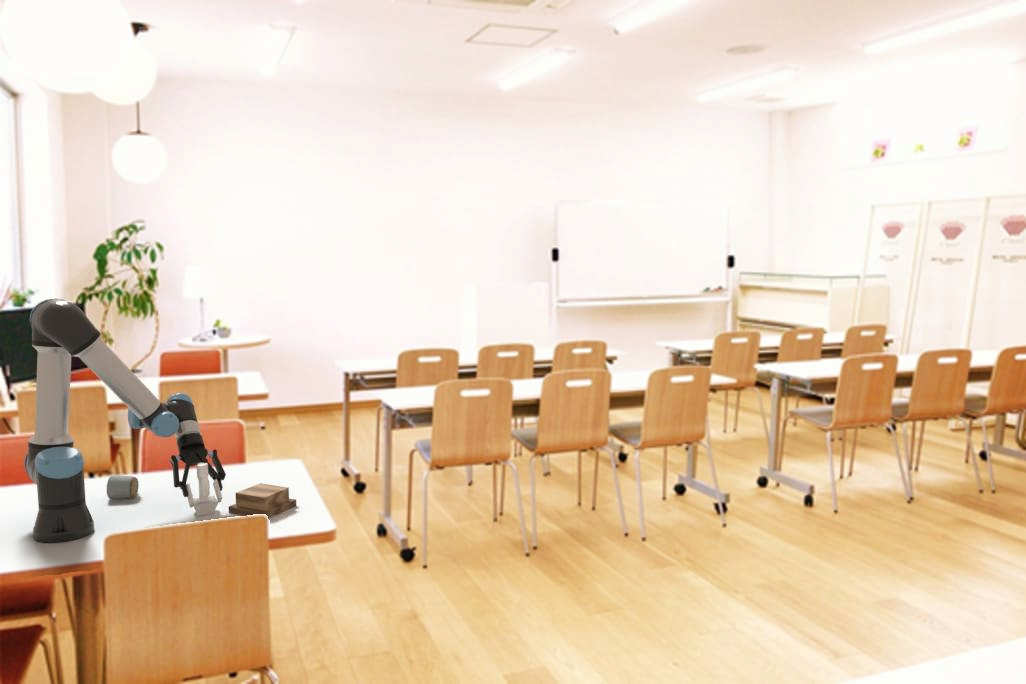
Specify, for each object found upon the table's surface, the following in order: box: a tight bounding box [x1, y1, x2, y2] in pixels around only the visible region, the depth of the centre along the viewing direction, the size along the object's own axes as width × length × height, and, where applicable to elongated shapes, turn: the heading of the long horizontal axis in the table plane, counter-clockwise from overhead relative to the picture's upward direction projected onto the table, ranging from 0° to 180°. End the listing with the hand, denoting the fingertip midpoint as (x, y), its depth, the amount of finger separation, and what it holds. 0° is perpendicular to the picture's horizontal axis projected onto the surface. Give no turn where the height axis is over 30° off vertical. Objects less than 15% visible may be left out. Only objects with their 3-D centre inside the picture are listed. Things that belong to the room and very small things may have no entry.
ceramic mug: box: [106, 474, 140, 500], centre depth 273 cm, size 10×8×7 cm
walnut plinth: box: [228, 482, 297, 519], centre depth 260 cm, size 14×14×6 cm
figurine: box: [192, 462, 220, 516], centre depth 257 cm, size 7×9×15 cm
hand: (206, 502), depth 254 cm, fingers closed on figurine, 7 cm apart
